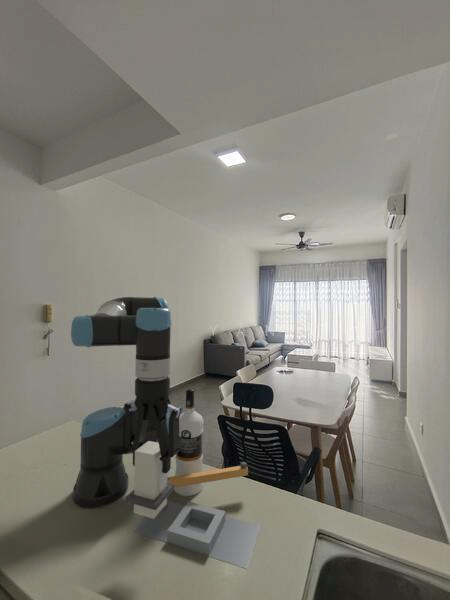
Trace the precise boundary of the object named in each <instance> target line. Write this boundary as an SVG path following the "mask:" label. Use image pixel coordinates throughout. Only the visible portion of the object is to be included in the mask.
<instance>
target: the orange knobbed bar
mask: <svg viewBox="0 0 450 600" xmlns="http://www.w3.org/2000/svg"><path fill="white" fill-rule="evenodd" d="M245 476H249V468H248V463H247V462H245V461H241V462H240V465H237V466H230V467H226V468H217V469H211V470H205V471H203V472H198V473H192V474H186V475H179V476H175V475H174V476H167V483H171V484H174V488H176V487H182V486H188V485H194V484H199V483H204V484H205V483H210V482H216V481H222V480H228V479H234V478H239V477H245Z"/></svg>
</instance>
